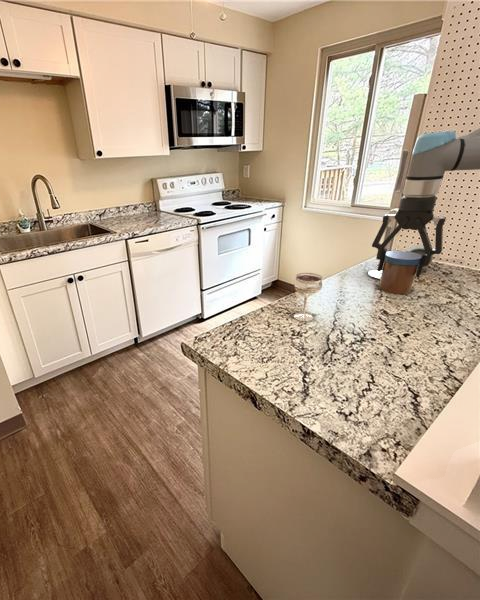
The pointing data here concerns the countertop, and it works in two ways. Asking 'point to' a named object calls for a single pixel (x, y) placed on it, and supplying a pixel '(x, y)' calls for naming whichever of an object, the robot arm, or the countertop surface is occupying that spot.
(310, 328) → the countertop surface
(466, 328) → the countertop surface
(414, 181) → the robot arm
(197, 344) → the countertop surface
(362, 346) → the countertop surface
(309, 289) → the wineglass
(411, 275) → the jam jar
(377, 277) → the coaster
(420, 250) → the ceramic mug
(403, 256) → the jar lid
